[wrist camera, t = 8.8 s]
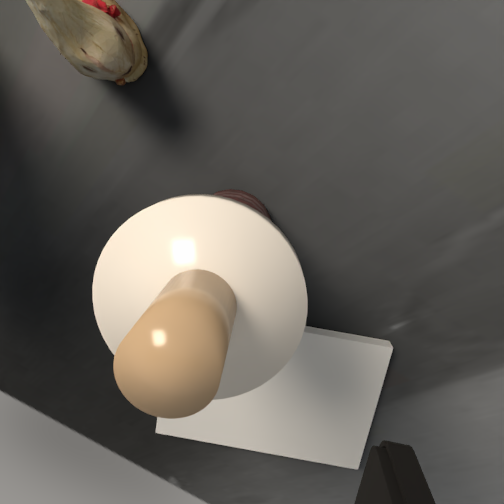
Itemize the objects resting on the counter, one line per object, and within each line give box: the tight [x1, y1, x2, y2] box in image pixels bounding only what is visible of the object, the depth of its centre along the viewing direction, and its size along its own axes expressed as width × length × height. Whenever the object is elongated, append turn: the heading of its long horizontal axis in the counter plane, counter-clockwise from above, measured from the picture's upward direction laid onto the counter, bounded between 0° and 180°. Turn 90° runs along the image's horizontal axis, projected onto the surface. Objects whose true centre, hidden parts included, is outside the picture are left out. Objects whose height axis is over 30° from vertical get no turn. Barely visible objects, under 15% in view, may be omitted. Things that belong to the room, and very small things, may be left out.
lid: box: [92, 194, 308, 419], centre depth 15 cm, size 9×9×6 cm
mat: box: [156, 326, 393, 470], centre depth 34 cm, size 18×12×1 cm, turn 81°
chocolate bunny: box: [26, 0, 148, 85], centre depth 23 cm, size 6×8×10 cm
